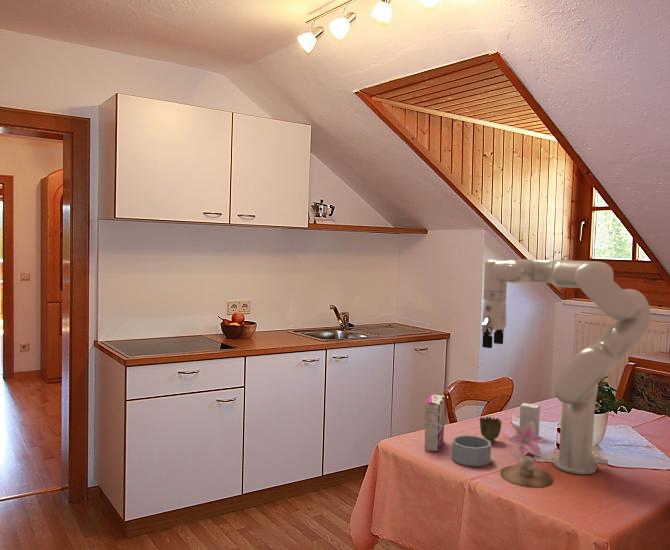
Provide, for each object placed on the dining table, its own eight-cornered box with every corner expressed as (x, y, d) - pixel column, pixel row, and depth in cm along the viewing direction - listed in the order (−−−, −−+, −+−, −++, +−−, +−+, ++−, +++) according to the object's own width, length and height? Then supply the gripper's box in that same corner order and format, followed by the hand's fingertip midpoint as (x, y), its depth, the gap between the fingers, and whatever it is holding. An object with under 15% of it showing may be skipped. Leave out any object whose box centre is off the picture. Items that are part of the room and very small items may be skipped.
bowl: (488, 455, 205) (489, 437, 204) (491, 468, 193) (492, 449, 192) (451, 451, 207) (452, 434, 206) (451, 465, 195) (452, 446, 195)
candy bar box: (429, 439, 218) (431, 393, 217) (443, 441, 216) (445, 395, 215) (423, 450, 207) (425, 402, 206) (438, 452, 206) (440, 403, 205)
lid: (548, 471, 193) (549, 452, 193) (556, 491, 178) (557, 470, 178) (498, 466, 196) (499, 447, 195) (502, 485, 181) (503, 465, 181)
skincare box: (538, 438, 223) (540, 405, 222) (535, 441, 219) (537, 408, 218) (521, 434, 226) (523, 402, 225) (518, 438, 222) (520, 405, 221)
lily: (500, 456, 206) (511, 436, 201) (504, 433, 216) (514, 413, 211) (536, 471, 204) (547, 451, 199) (538, 447, 214) (549, 427, 209)
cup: (502, 446, 213) (504, 423, 213) (481, 445, 214) (482, 422, 213) (497, 438, 221) (498, 416, 220) (476, 438, 221) (477, 416, 220)
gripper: (495, 298, 202) (493, 350, 203) (514, 294, 216) (512, 343, 217) (473, 296, 206) (472, 347, 208) (494, 293, 220) (492, 341, 221)
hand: (492, 345), depth 212 cm, fingers open, 9 cm apart
